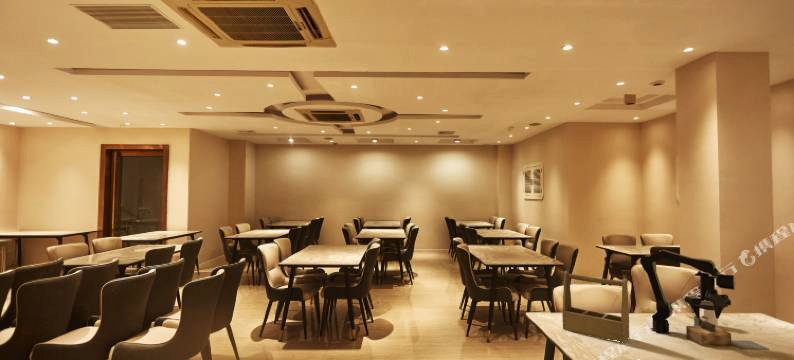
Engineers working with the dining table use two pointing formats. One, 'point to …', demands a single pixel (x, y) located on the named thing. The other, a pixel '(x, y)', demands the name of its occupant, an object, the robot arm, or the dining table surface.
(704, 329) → the lid
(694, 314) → the tan wooden bar
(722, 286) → the robot arm
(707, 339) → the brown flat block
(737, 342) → the mat
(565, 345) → the dining table surface
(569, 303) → the caddy
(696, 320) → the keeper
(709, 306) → the jar
